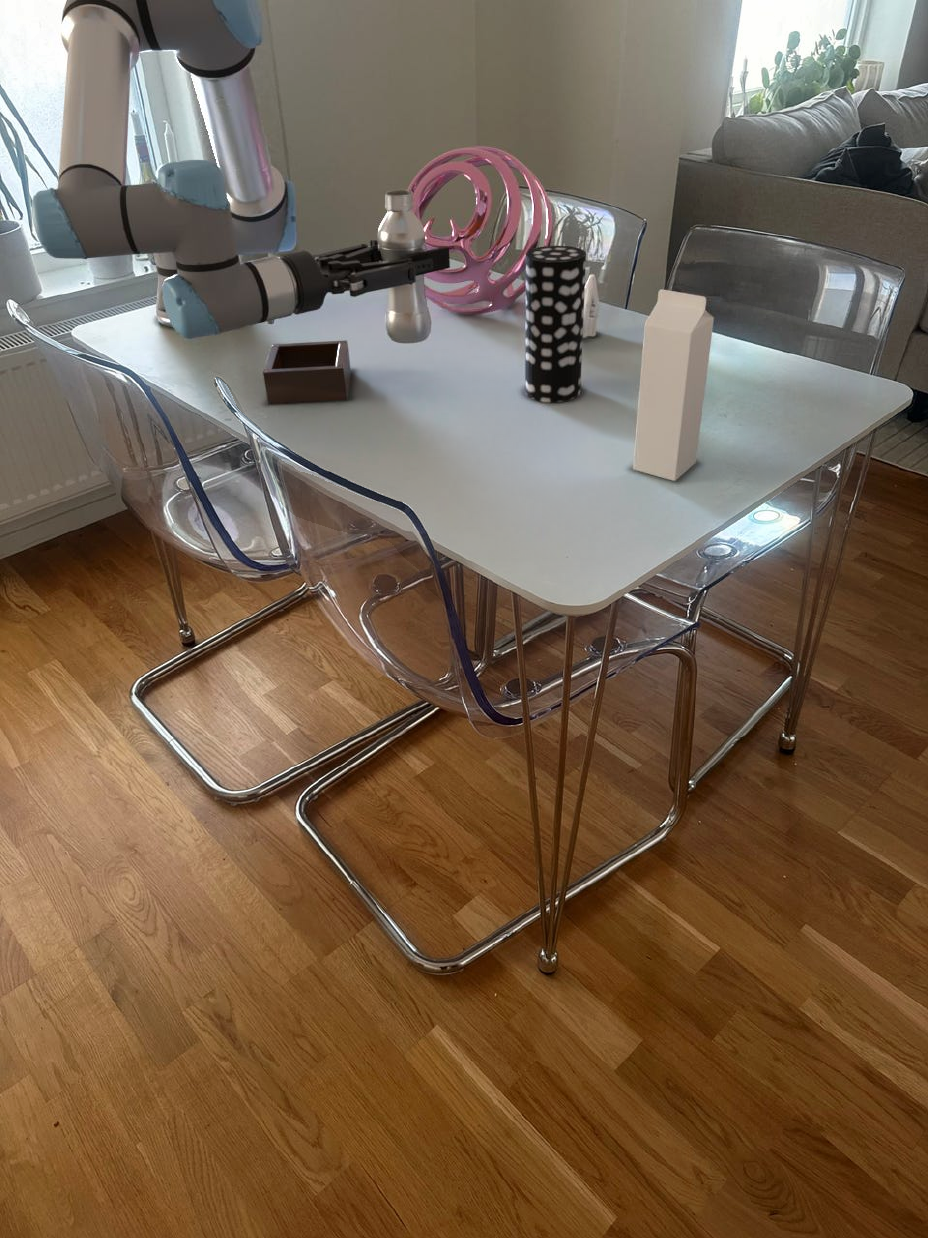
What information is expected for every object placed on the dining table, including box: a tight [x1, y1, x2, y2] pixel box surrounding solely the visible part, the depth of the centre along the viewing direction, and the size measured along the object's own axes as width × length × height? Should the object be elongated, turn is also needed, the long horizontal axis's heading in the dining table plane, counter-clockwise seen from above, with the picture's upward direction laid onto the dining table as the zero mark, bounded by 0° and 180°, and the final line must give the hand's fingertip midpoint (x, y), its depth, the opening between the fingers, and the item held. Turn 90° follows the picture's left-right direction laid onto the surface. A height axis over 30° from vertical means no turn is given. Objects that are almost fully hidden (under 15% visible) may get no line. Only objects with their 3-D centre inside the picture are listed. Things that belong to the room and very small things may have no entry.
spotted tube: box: [524, 245, 587, 403], centre depth 133 cm, size 8×8×20 cm
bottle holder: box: [262, 339, 351, 405], centre depth 142 cm, size 12×12×5 cm
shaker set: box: [583, 273, 600, 339], centre depth 152 cm, size 12×4×11 cm, turn 133°
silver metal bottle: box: [377, 189, 432, 344], centre depth 128 cm, size 6×7×20 cm
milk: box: [632, 288, 715, 482], centre depth 111 cm, size 6×6×22 cm
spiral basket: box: [406, 145, 554, 316], centre depth 165 cm, size 28×28×27 cm
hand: (433, 252), depth 129 cm, fingers closed on silver metal bottle, 6 cm apart
